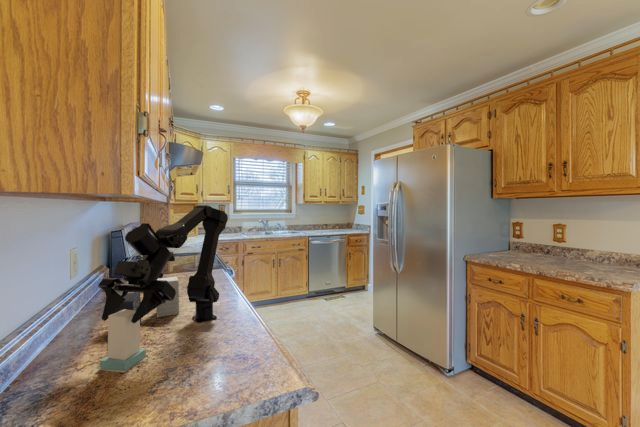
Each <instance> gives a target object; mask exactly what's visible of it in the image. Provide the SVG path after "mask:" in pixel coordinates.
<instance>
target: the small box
mask: <svg viewBox="0 0 640 427" xmlns="http://www.w3.org/2000/svg"><path fill="white" fill-rule="evenodd" d="M123 298H125V299H126V300H125V301H124V302H123V303H122V304H121V305H120V306H119V307H118V309H117V310H116V311H115V312H114V313H116V312H119V311H121V310H124V309H126V310H137V308H138V306H139V305H140V303H141V301H142V300H141V293H137V292H128V293H127V295H126V296H124V297H123ZM114 313H113V314H114ZM141 323H142V318H141V319H140V324H141Z"/></svg>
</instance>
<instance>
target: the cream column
mask: <svg viewBox="0 0 640 427" xmlns="http://www.w3.org/2000/svg"><path fill="white" fill-rule="evenodd" d="M135 312H136V310H126V309H124V310H121V311H119V312H116V313H114V314H111V315H109V316H108V319H107V356H108V358H112V359H120V360H126V359H127V358H129V357H130V356H132V355H134V354H135V353H137V352H138V351H139V349H140V341H141V340H140V333H141V332H140V331H141V326H140V325H141V323H140V320H138V321H137V322H136V323H132V322H131V320H132V318H133V316H134V314H135Z"/></svg>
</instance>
